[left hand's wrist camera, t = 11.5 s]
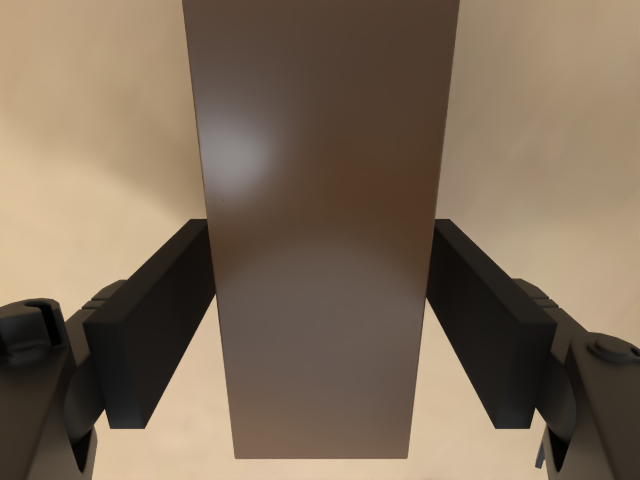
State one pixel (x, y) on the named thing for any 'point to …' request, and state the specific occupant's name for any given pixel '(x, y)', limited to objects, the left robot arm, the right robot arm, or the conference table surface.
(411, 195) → the plank
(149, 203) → the conference table surface
